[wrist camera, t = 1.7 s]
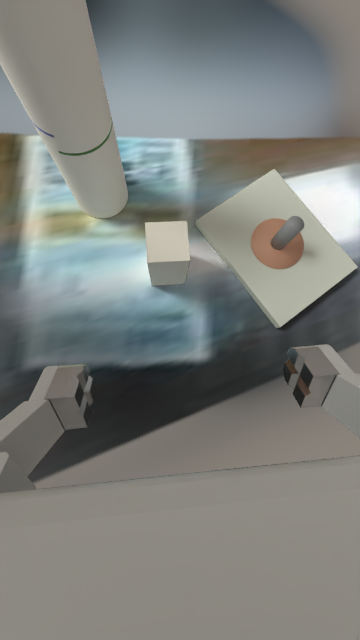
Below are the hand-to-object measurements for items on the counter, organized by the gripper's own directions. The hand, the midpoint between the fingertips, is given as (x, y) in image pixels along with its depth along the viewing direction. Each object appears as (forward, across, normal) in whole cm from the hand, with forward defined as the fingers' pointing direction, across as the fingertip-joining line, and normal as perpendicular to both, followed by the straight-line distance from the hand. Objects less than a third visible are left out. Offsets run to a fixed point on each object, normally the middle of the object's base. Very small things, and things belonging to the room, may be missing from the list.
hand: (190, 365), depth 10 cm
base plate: (+26, -15, +5) cm, 31 cm away
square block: (+24, 0, +7) cm, 25 cm away
